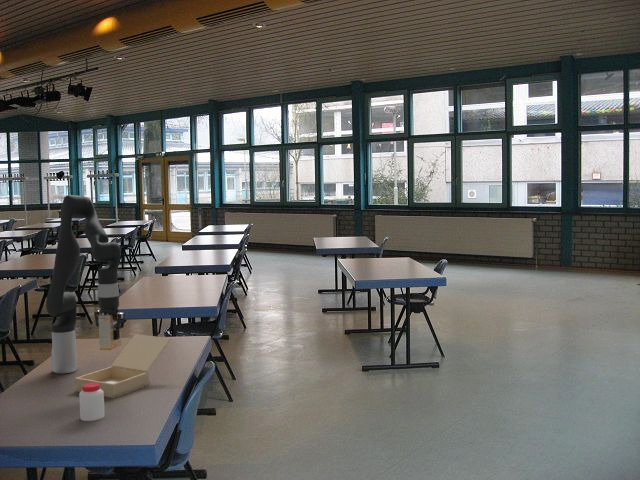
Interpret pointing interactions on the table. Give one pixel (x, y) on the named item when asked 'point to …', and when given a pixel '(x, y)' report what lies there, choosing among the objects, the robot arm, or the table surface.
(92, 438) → the table surface
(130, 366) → the flap
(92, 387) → the pill bottle
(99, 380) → the box
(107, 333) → the supplement box
